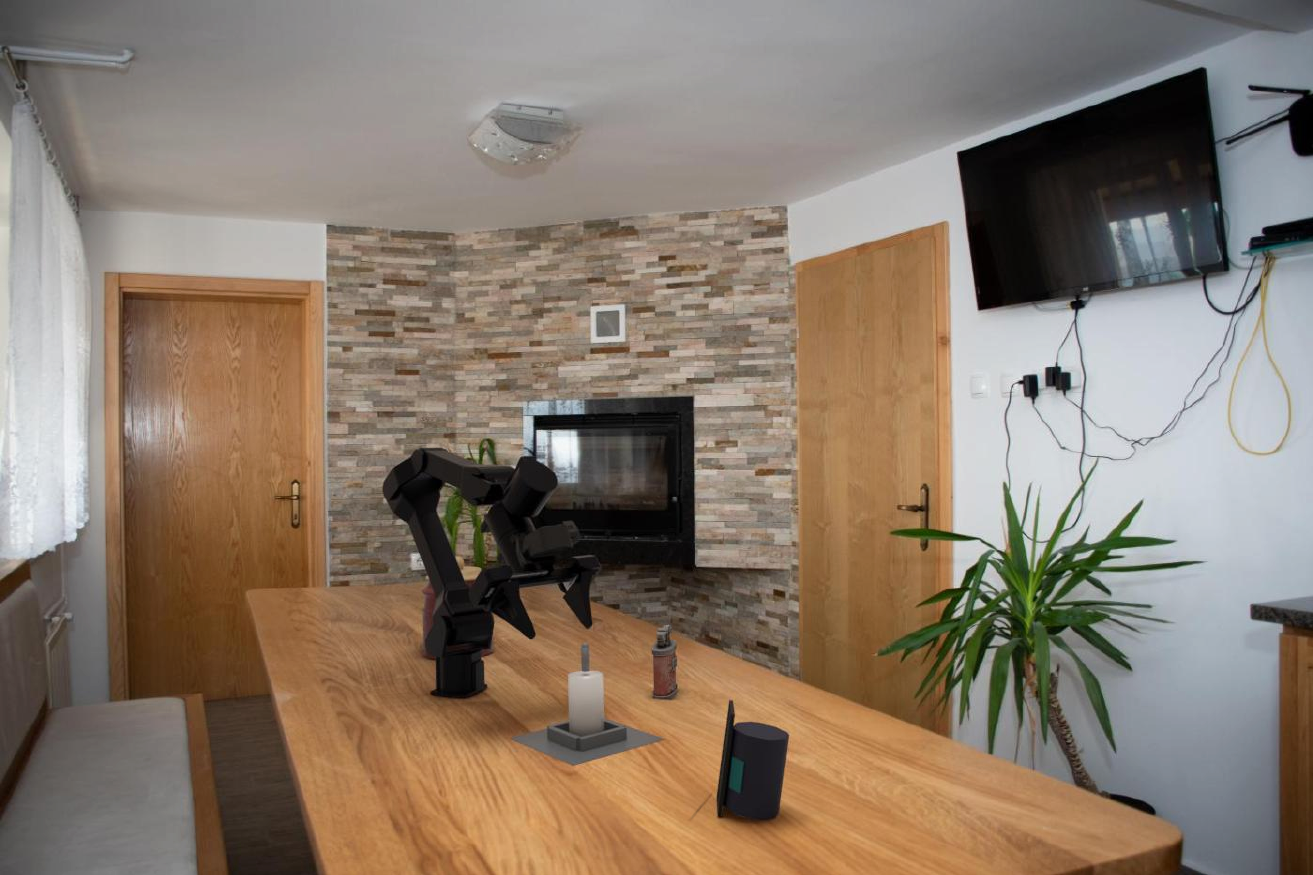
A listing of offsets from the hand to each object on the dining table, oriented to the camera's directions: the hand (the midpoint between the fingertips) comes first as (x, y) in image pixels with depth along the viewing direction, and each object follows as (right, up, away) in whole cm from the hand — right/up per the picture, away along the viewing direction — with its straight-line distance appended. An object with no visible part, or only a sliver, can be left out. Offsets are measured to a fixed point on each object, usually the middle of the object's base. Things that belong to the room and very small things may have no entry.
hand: (562, 632), depth 123 cm
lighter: (+14, -13, +16) cm, 25 cm away
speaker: (+22, -12, -28) cm, 38 cm away
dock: (+4, -13, -6) cm, 14 cm away
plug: (+4, -12, -6) cm, 14 cm away
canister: (-24, -14, +48) cm, 55 cm away
